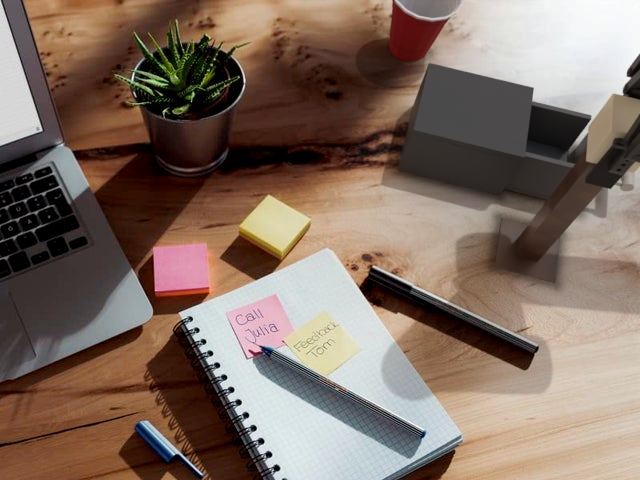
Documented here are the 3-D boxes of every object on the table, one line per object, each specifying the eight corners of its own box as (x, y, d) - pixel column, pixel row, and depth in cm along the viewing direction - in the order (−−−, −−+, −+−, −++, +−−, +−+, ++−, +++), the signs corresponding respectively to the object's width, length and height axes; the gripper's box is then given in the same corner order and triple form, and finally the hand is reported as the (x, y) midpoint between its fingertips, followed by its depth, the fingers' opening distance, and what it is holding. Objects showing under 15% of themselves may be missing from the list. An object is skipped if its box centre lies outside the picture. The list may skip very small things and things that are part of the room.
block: (635, 137, 71) (663, 104, 66) (633, 173, 69) (662, 142, 64) (588, 126, 71) (613, 92, 67) (585, 161, 69) (610, 129, 65)
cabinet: (506, 134, 99) (534, 87, 90) (496, 200, 94) (524, 157, 85) (411, 110, 101) (429, 62, 92) (395, 174, 95) (413, 129, 86)
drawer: (616, 159, 96) (647, 123, 89) (612, 222, 91) (645, 189, 84) (491, 129, 98) (512, 91, 91) (481, 189, 93) (503, 153, 86)
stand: (556, 237, 91) (649, 130, 71) (551, 286, 88) (648, 188, 68) (498, 222, 92) (575, 112, 72) (491, 270, 88) (569, 168, 69)
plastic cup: (394, 86, 103) (415, 23, 92) (361, 40, 107) (377, -26, 96) (453, 67, 105) (481, 3, 94) (418, 22, 109) (440, -44, 98)
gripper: (703, -104, 56) (570, 95, 76) (707, 43, 48) (558, 220, 69) (796, -85, 55) (636, 111, 76) (815, 67, 47) (631, 239, 68)
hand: (599, 162), depth 72 cm, fingers closed on block, 5 cm apart
